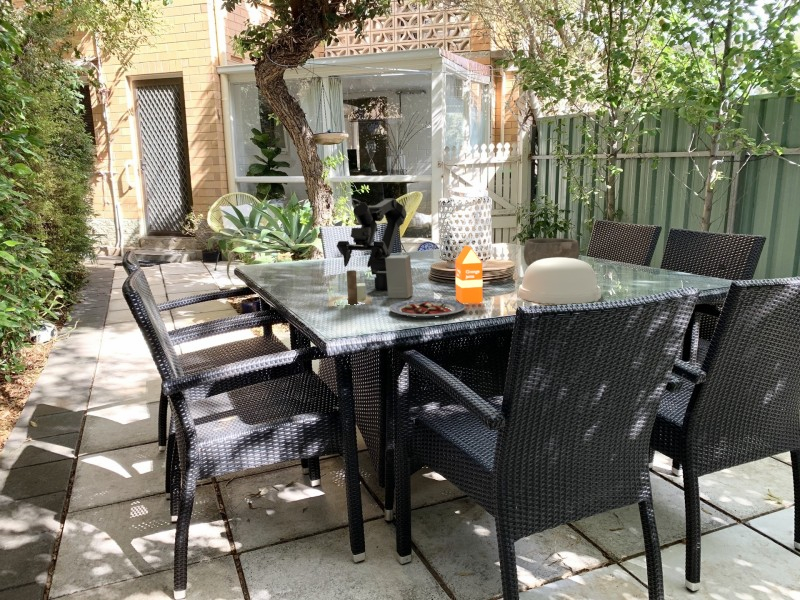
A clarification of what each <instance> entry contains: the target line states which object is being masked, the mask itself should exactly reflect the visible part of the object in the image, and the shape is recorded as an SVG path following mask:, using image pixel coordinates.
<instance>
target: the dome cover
mask: <svg viewBox="0 0 800 600" xmlns="http://www.w3.org/2000/svg"><path fill="white" fill-rule="evenodd" d="M517 294H518V296H517V297H519V298H520V299H523V300H525V301H529V302H535V303H543V304H555V305H556V304H558V305H559V304H561V305H568V304H569V305H573V304H572V303H576V304H584V303H590V302H591V303H592V302H598V301H599V300H600V299H601V298H602V290H601V287H600V286H599V285H598V280H597V275H596V272H595V271H594V269H593V267H592V266H591V265H590V264H589V263H588V262H586V261H584V260H581V259H579V258H578V259H573V258H562V257H557V258H546V259H541V260H538V261H535V262H534V263H532V264H531V265H530V266H529V267H528V266H527V268H526V270H525V272H524V275H523V277H522V283H521V284H519V288H518V292H517Z"/></svg>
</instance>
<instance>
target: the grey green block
mask: <svg viewBox="0 0 800 600" xmlns="http://www.w3.org/2000/svg"><path fill="white" fill-rule="evenodd" d="M366 295H367V294H366V283H365V282H361V283H360V282H357V299H366Z"/></svg>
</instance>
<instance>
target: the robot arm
mask: <svg viewBox="0 0 800 600" xmlns="http://www.w3.org/2000/svg"><path fill="white" fill-rule="evenodd" d="M352 212H353V214H354V217H355V218H356V219H355V220H356V221H357V224H358V225H360V226H361V227H352V228H351V229H350V237H351V238H352V239H353V240H352V241H353V243H354V244H353V243H352V244H350V242H349V241H348V240H339V241H338V242H337V244H336V248H337V249H338V252H339V253H340V255H342V256H343V266H344V267H347V266H348V264H349V262H350V260H351V258H352V253H353V251H361V252H370V256H369V258H368V261H367V264H366V265H367V268H370V272H371V275H375V277H374V289H375V290H376V291H388V287H387V274H386V262H385V258H387V257H389V256H391V253H392V249H393V246H394V244H395V243H394V242H395V241H396V237H397V236H396V235H397V232H398V230H399V228H400V227H401V226H402V225H404V222H405V220H406V218H407V210H406V209H405V207H404V205H402V204H401V203H400V202H398V200H397V199H395V198H384V199H382V200H381V201H380V202H378V203H377V204H375V205H368V204H367V202H360V204H358V205H356V206H355V207H354V208H353V211H352ZM384 218H385V220H386V227H385V230H384V233H383V237H382V240H379V241H377V240H375V239H374V237H375V233H376V232H379V228H378V224H377V222H381V221H382V220H383V219H384ZM372 243H373V244H372Z"/></svg>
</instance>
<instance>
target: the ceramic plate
mask: <svg viewBox="0 0 800 600" xmlns="http://www.w3.org/2000/svg"><path fill="white" fill-rule="evenodd" d="M445 307H447V308H445ZM448 308H450V309H452V311H451V310H450V309H448ZM388 309H389V310H390V311H391V312H393V313H395V314H398V315H404V316H406V315H408V316H407V317H410V316H416V317H415V318H418V317H433V318H436V317H435V316H442V317H445V316H444V315H446V316H449V315H451V314H457V313H459V312H462V311H463V310H465V309H466V304H463V303H461V302H458V301H457V300H453V299H443V298H416V299H408V300H407V299H406V300H403V301H402V300H401V301H398V302H395V303H391V305H390V306H389V307H388ZM448 314H449V315H448Z"/></svg>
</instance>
